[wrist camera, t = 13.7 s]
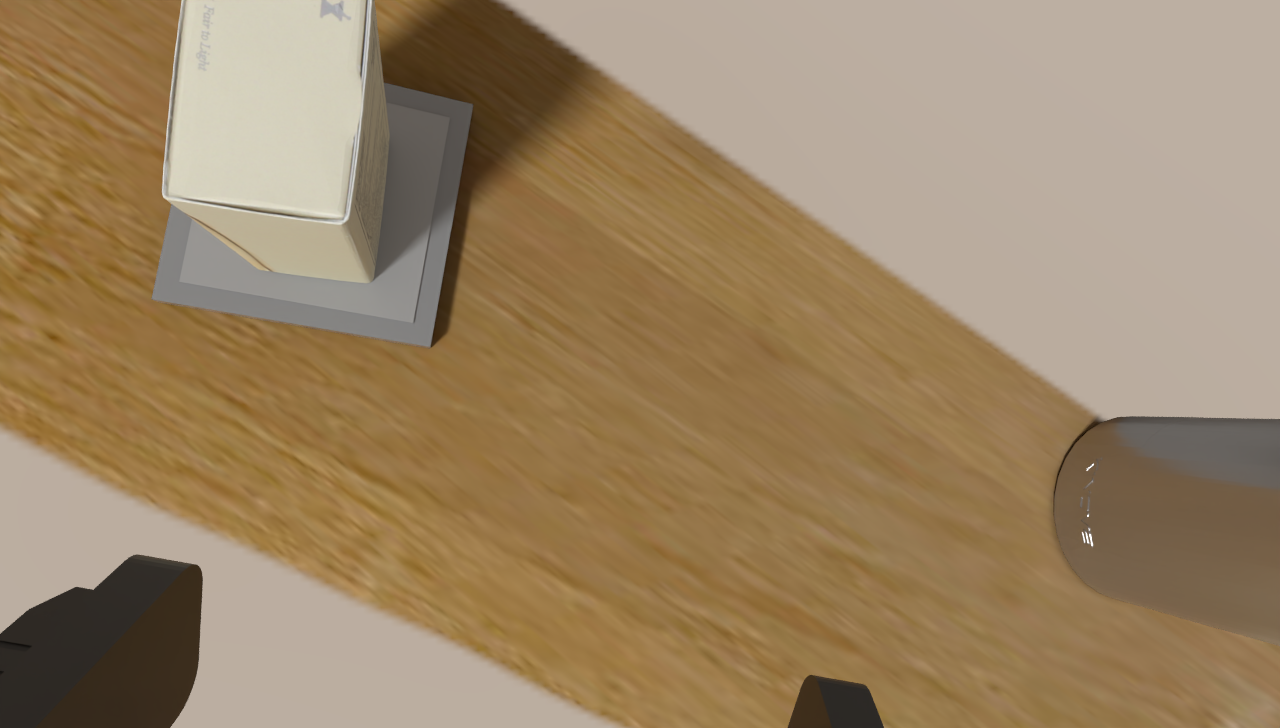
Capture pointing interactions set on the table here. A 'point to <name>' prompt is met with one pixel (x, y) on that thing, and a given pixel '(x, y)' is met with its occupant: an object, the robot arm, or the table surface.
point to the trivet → (407, 247)
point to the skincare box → (281, 132)
